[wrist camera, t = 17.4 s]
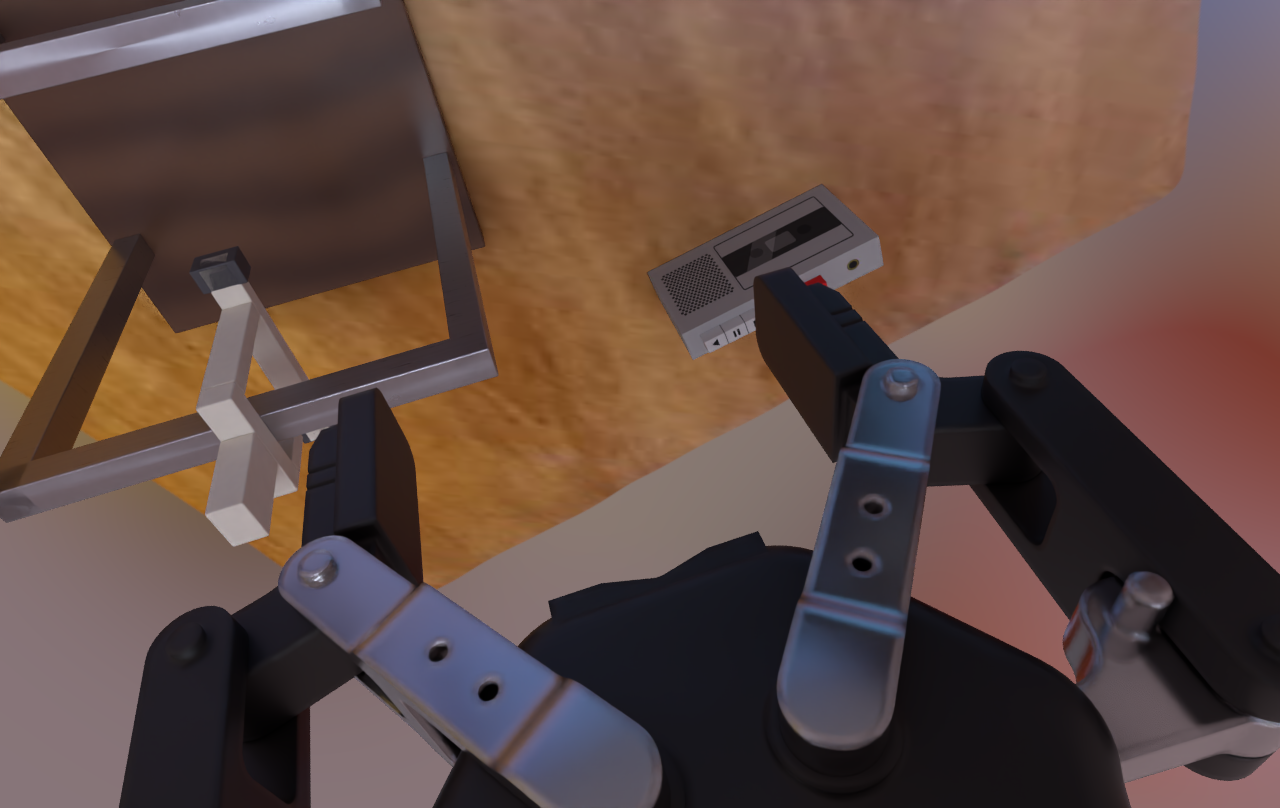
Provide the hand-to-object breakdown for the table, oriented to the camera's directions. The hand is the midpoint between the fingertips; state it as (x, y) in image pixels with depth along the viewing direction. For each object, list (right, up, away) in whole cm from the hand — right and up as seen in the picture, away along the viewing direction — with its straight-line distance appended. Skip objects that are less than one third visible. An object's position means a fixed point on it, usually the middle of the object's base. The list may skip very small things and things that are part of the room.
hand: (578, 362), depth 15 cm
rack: (-23, +18, +29) cm, 41 cm away
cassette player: (+9, +13, +45) cm, 48 cm away
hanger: (-17, +2, +22) cm, 28 cm away
